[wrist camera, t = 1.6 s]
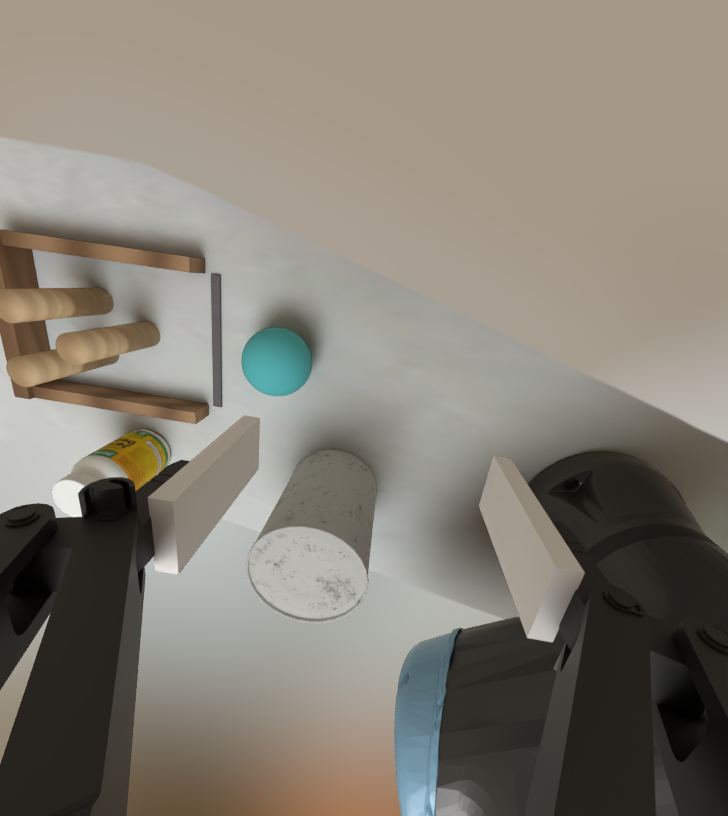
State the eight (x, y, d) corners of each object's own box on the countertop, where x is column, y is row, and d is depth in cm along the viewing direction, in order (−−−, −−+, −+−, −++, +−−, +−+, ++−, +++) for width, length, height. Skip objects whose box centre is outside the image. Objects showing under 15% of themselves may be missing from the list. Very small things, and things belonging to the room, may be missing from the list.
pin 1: (111, 289, 33) (19, 291, 25) (114, 315, 33) (25, 325, 25) (87, 286, 33) (-13, 286, 25) (90, 311, 34) (-5, 320, 26)
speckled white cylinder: (316, 534, 40) (284, 635, 29) (275, 467, 38) (221, 549, 26) (391, 508, 38) (388, 606, 27) (353, 436, 36) (332, 509, 24)
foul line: (220, 275, 31) (219, 275, 31) (221, 406, 36) (220, 407, 36) (212, 274, 31) (210, 274, 31) (214, 405, 36) (213, 405, 36)
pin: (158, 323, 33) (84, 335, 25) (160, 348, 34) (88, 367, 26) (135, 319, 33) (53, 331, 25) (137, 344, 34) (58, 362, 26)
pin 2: (117, 342, 34) (32, 359, 26) (120, 365, 35) (38, 389, 27) (94, 338, 34) (3, 354, 26) (97, 361, 35) (10, 384, 27)
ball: (321, 329, 32) (304, 338, 26) (315, 389, 34) (299, 410, 29) (258, 319, 32) (228, 326, 27) (256, 380, 34) (229, 399, 29)
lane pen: (204, 259, 31) (185, 256, 28) (208, 415, 36) (192, 426, 33) (12, 231, 32) (-25, 226, 29) (44, 388, 37) (14, 396, 34)
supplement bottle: (141, 475, 40) (66, 531, 31) (117, 434, 38) (30, 481, 29) (181, 464, 39) (115, 519, 30) (157, 421, 37) (80, 465, 28)
